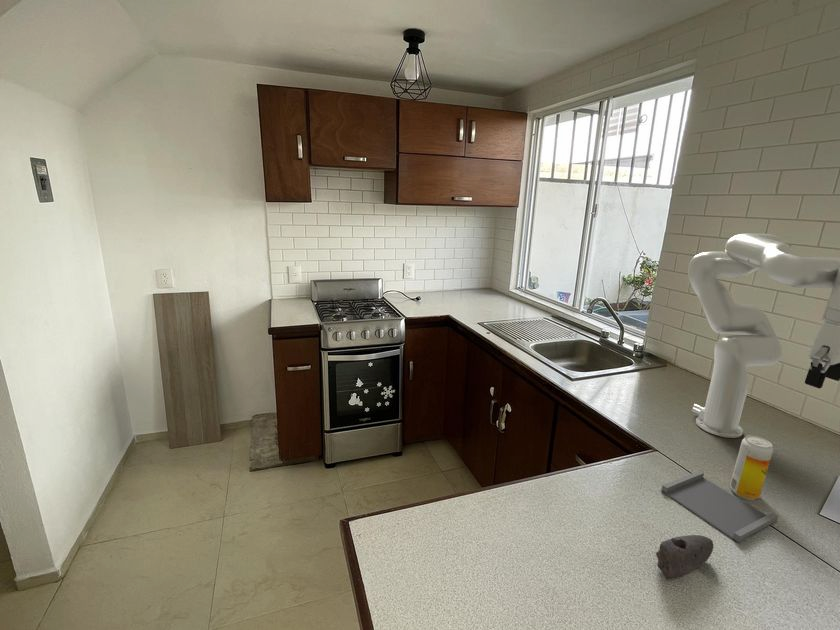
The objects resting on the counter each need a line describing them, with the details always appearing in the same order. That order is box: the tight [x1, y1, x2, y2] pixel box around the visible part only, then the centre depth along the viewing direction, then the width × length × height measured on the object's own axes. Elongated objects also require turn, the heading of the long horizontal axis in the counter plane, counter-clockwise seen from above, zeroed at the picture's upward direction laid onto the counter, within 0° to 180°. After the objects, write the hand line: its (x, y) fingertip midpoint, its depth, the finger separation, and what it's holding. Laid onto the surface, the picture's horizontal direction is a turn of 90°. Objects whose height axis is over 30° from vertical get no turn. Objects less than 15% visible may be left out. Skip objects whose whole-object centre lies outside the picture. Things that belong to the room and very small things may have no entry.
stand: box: [660, 470, 779, 544], centre depth 101 cm, size 18×15×2 cm
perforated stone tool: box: [655, 534, 714, 581], centre depth 83 cm, size 15×5×7 cm, turn 111°
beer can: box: [729, 434, 774, 501], centre depth 104 cm, size 6×6×15 cm
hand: (822, 382), depth 104 cm, fingers open, 9 cm apart
